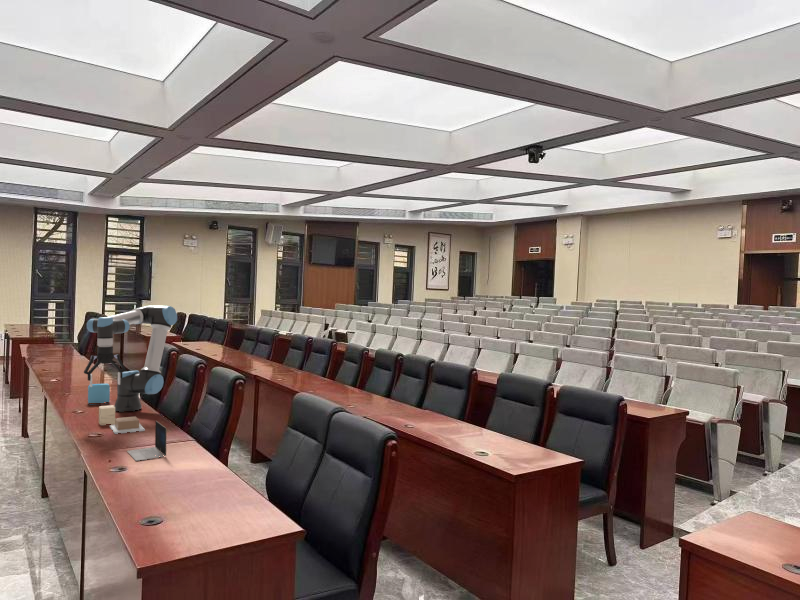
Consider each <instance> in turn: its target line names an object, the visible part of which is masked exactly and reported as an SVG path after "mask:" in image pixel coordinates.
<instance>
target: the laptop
mask: <svg viewBox="0 0 800 600" xmlns="http://www.w3.org/2000/svg"><path fill="white" fill-rule="evenodd" d="M154 424H155V429H154V430H155V437H154V438H155V439H154V446H152V447H146V448H145V447H144V448H136V449H129V450H126V452H127V453H128V454H129V455H130V457H131V458H132V459H133V460H134V461H135V462H140V460H142V461H148V460H147V459H150V460H154V459H153V458H158V459H160V458H159V456H160V457H164V456H167V438H168V437H167V435H168V434H167V432H168V431H167V427H166V426H164V425H163V424H162V423H160V422H159V421H157V420H155V423H154ZM155 455H156V456H155ZM163 455H164V456H163Z"/></svg>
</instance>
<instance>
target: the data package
mask: <svg viewBox="0 0 800 600" xmlns="http://www.w3.org/2000/svg"><path fill="white" fill-rule="evenodd" d="M110 390H111V387H110V384H109V383H92V387H90V384H89V385H88V386H87V403H88V404H89V403H104V402H109V403H110V400H111V399H110V396H111V395H110V393H111V391H110Z"/></svg>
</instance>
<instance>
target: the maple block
mask: <svg viewBox="0 0 800 600" xmlns="http://www.w3.org/2000/svg"><path fill="white" fill-rule="evenodd" d="M114 406H115V405H114V404H113V405H112V404H110V405H101V406H98V424H99V425H100V426H107V425H106V424H111V425H114V424H115V418H116V411H115V407H114Z"/></svg>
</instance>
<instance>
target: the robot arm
mask: <svg viewBox="0 0 800 600" xmlns="http://www.w3.org/2000/svg"><path fill="white" fill-rule="evenodd" d="M177 321H178V313H177V311H176V309H175V307H173V306H172V305H171V306H170V305H153V304H152V305H150V304H149V305H145V306H141V307H135V308H133V309H131V310H130V311H127V312H123V313H118V314H114V315H110V316H103V317H98V318H91V319H89V320H87V322H86V329H87V331H88V332H90V333H97V337H96V338H97V341H96V343H97V344H96V345H97V354H96V355H90V359H89V361H88V363H87V365H86V367H85V368H84V371H83V373H84V374H85V375H87V381H89V385H90V387H92V384H93V374H92V373H93V372H94V371H95V370H96V369H97V368H98V367H99V365H100V364H103V365H104V364H111V365H112V366H113V367H114V368H116V370H117V371H118V372H117V380H116V381H117V383H116V384H117V386H116V387H117V388H116V389H117V392H116V393H117V394H116V395H117V396H116V397H117V398H116V400H115V403H114V405H113V406H114V407H115V412H116V411H119V413H125V412H124V411H133V412H136V411H135V410H138V411H140V410H139V409H141V408H142V407H143V405H142V402H141V400H140V396H139V395H140V394H144V395H145V394H147V395H155V394H158V393H159V392H160V391H161V390H162V388H163V387H164V382H165V381H164V376H163V375H162V371H161V370H160V368H161V363H162V358H163V355H164V348H165V345H166V339H167V335H168V332H169V331H170V330H171V329H172V326H173V325H175V324H176V323H177ZM140 324H143V325H144V324H145V325H150V328H152V329H151V330H152V331H151V334H150V339H149V343H148V348H147V353H146V356H145V361H144V364H143V365H144V366H143V367H142V368H141V369H140V370H128V371H127V369H126V367H125V365H124V363H123V361H122V359H121V358H120V354H118V353H117V354H114V346H113V345H114V335H116V334H123V333H127V332H128V331H129V330H130V325H140ZM114 358H115V359H116V360H117V362H118V364H119V365H118V364H117V363H115V361H114V360H113V359H114ZM95 360H97V361H96V362H95V364H94V365H93V366H92V364H93V362H94V361H95ZM91 366H92V367H91ZM119 366H120V367H121V368H120V367H119ZM142 409H143V408H142ZM142 409H141V410H142Z"/></svg>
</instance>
